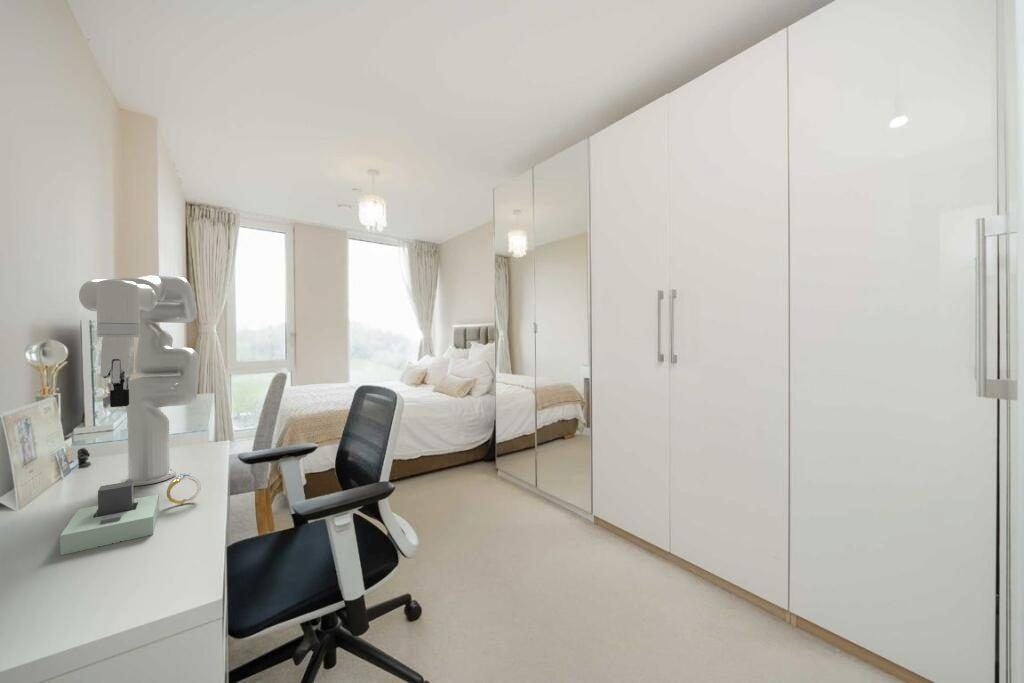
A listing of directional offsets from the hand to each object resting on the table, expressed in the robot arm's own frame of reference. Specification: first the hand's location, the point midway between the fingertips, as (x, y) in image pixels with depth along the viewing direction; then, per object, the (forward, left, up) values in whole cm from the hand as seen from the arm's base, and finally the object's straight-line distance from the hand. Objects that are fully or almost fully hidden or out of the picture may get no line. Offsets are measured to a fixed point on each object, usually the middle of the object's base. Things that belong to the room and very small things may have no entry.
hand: (119, 406), depth 99 cm
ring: (0, +12, -27) cm, 30 cm away
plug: (+7, 0, -27) cm, 27 cm away
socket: (+9, 0, -27) cm, 29 cm away
